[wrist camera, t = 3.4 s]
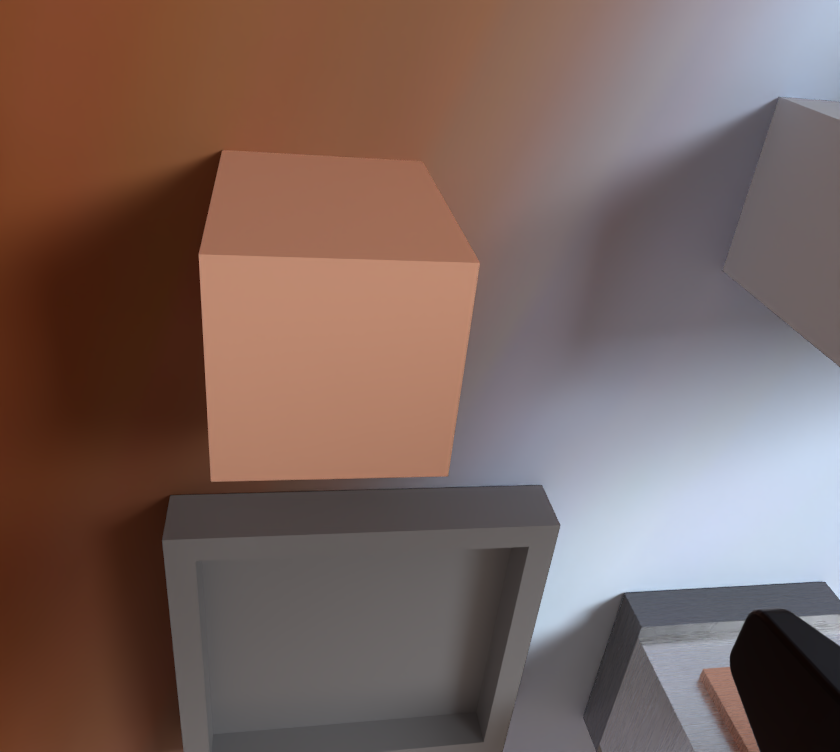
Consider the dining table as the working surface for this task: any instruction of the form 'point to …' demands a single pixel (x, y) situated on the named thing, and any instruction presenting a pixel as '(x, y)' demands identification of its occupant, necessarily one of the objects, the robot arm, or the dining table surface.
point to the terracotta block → (332, 318)
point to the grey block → (795, 223)
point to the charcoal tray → (354, 616)
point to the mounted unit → (687, 666)
